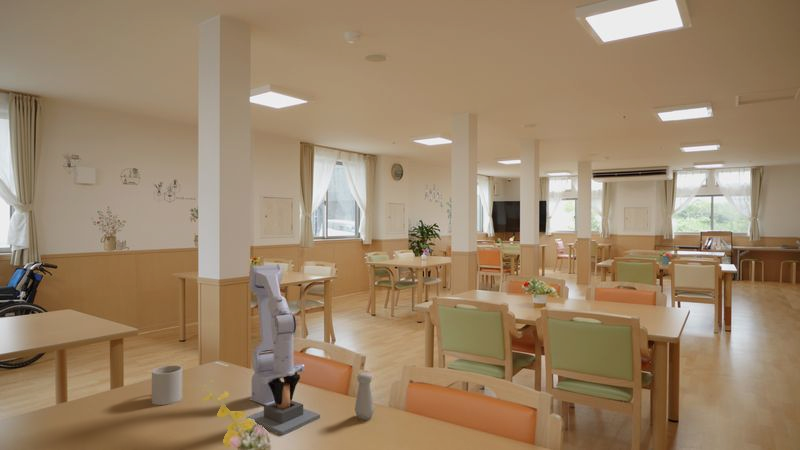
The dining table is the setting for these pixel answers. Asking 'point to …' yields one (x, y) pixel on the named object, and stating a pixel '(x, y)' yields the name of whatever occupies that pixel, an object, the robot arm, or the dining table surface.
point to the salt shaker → (364, 397)
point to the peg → (285, 397)
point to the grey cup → (166, 385)
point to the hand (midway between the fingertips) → (283, 401)
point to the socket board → (284, 417)
